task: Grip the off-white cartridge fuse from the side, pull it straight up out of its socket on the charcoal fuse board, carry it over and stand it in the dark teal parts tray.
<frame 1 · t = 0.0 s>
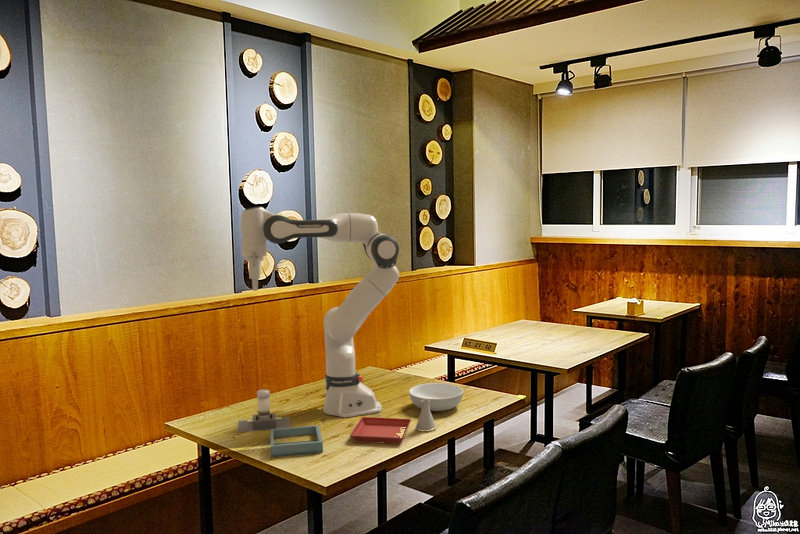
hand: (255, 289, 227), 48 cm above the table, tool pointing down, fingers open, 8 cm apart
flask: (425, 429, 216), on the table
fuse board: (264, 427, 220), on the table
parts tray: (295, 445, 201), on the table
fuse: (264, 424, 219), point 1 cm above the table, touching fuse board
plant saucer: (381, 436, 210), on the table
serving bowl: (436, 408, 239), on the table
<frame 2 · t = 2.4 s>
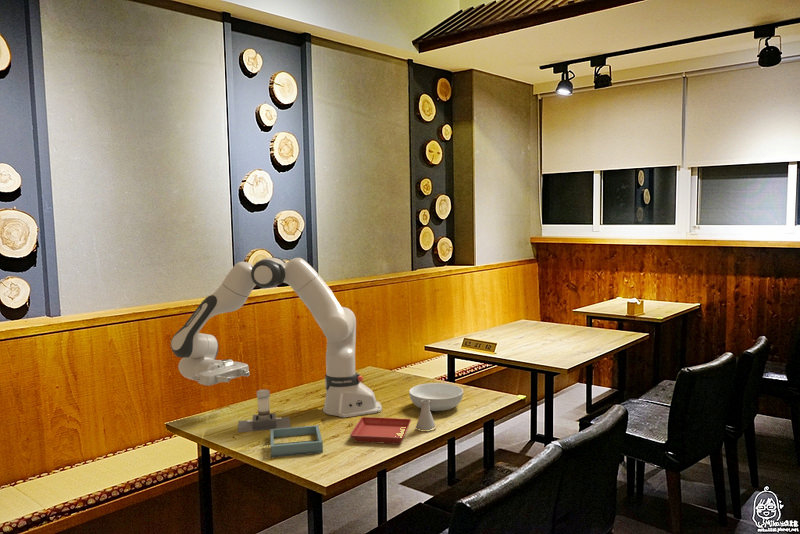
hand: (238, 376, 225), 17 cm above the table, tool horizontal, fingers open, 8 cm apart
nothing on the table moved.
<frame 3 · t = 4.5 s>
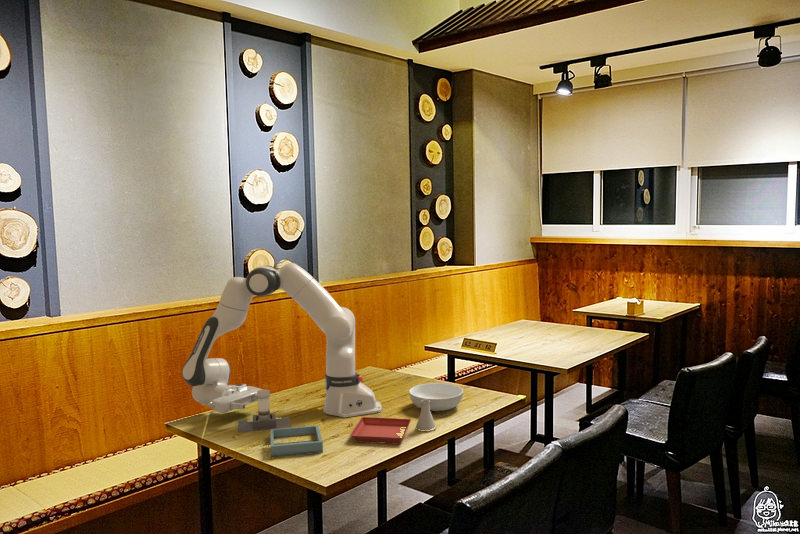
hand: (253, 403, 222), 8 cm above the table, tool horizontal, fingers open, 8 cm apart
nothing on the table moved.
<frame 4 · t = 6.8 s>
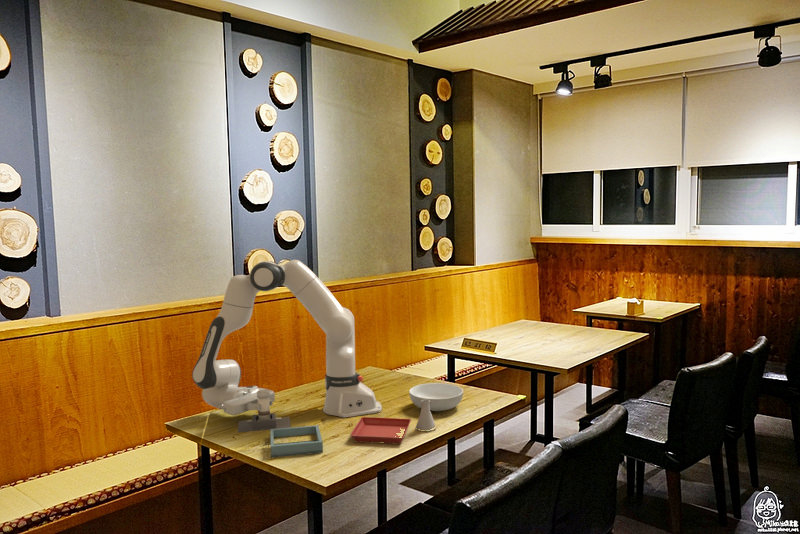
hand: (265, 405, 218), 8 cm above the table, tool horizontal, fingers closed on fuse, 4 cm apart
fuse: (264, 424, 219), point 1 cm above the table, touching fuse board, gripper
everything else where it was.
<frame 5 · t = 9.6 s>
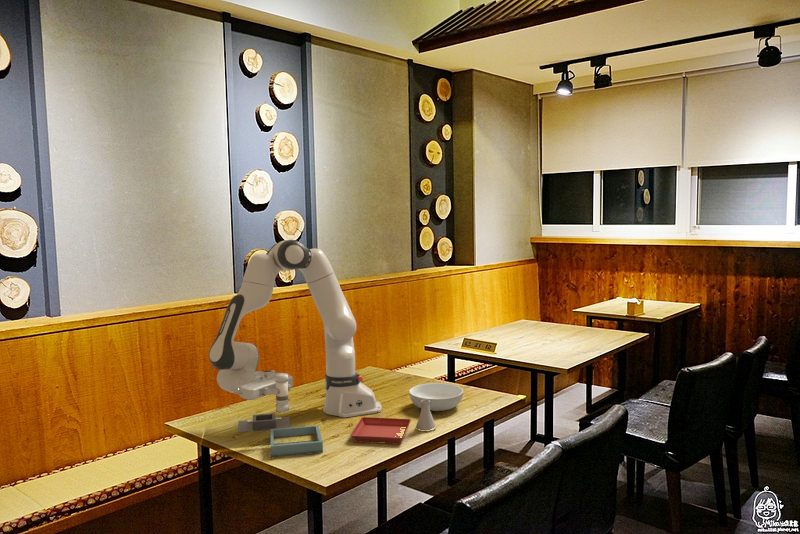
hand: (283, 390, 206), 17 cm above the table, tool horizontal, fingers closed on fuse, 4 cm apart
fuse: (282, 410, 207), point 10 cm above the table, touching gripper
everything else where it was.
when the fingers open (9 cm above the table, at t = 12.4 s): fuse drops 2 cm, resting on parts tray.
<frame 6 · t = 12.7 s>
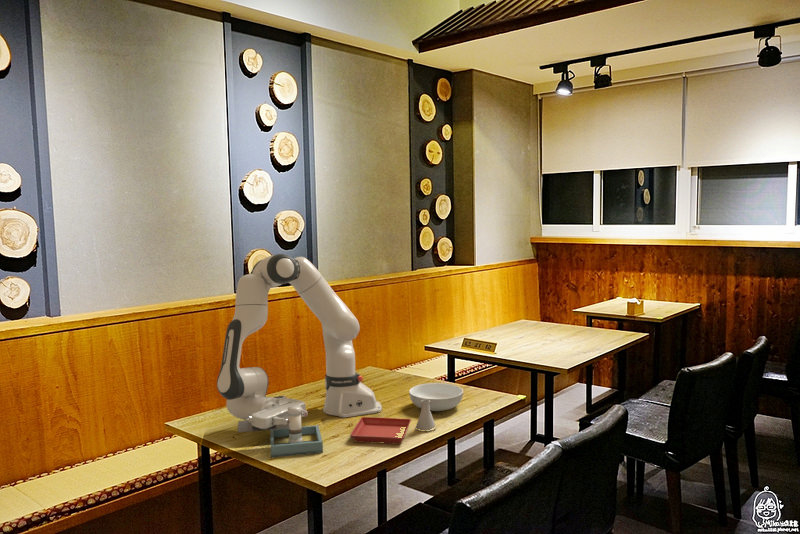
hand: (297, 417, 200), 9 cm above the table, tool horizontal, fingers open, 7 cm apart
fuse: (295, 443, 201), point 1 cm above the table, touching parts tray
everything else where it was.
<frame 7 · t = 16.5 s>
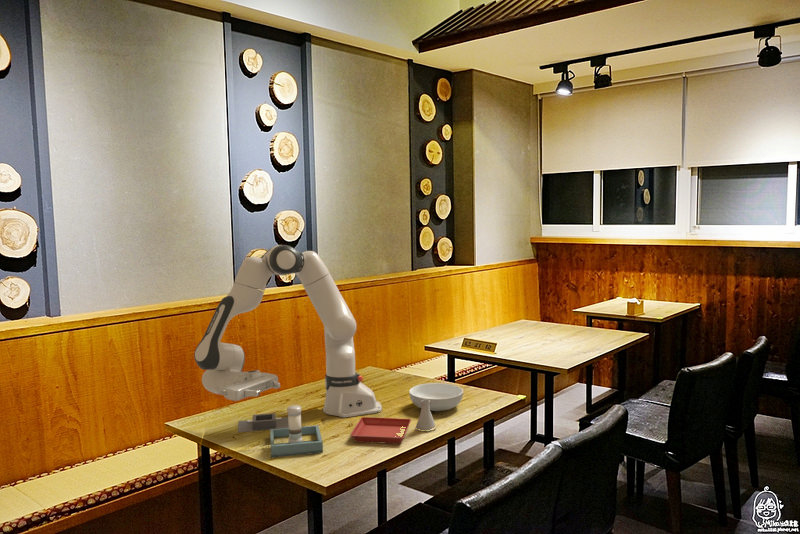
hand: (268, 389, 206), 17 cm above the table, tool horizontal, fingers open, 8 cm apart
nothing on the table moved.
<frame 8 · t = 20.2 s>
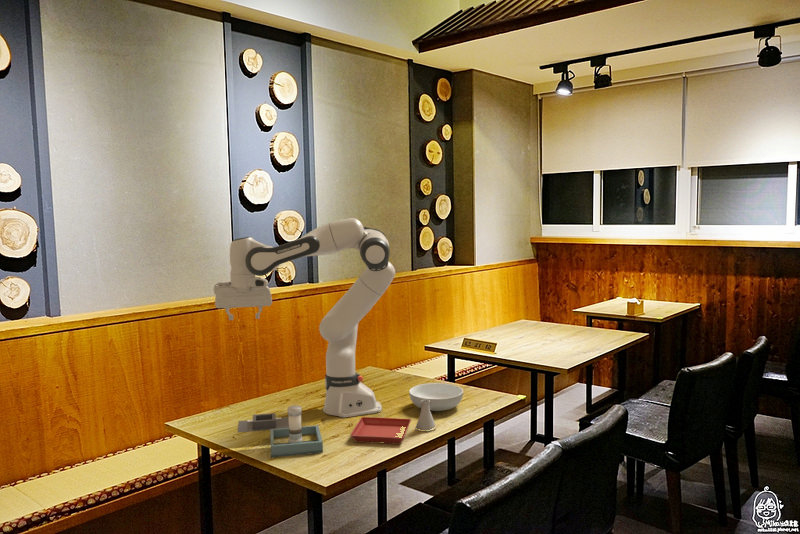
hand: (244, 319, 227), 37 cm above the table, tool pointing down, fingers open, 8 cm apart
nothing on the table moved.
at the end: fuse inside the target area on the parts tray (0.1 cm from its centre), point 0.9 cm above the parts tray's base; the gripper is holding nothing; fuse tilted 1° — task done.
